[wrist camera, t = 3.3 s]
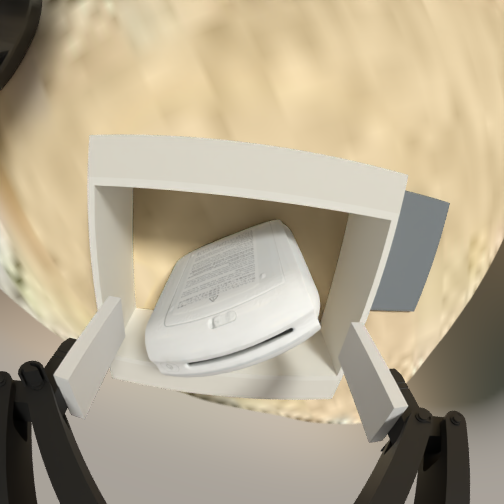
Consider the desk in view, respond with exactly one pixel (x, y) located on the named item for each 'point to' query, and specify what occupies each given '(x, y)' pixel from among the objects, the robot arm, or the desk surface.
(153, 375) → the carton
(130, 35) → the desk surface
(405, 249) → the mat
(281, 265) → the photo printer
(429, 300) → the desk surface
